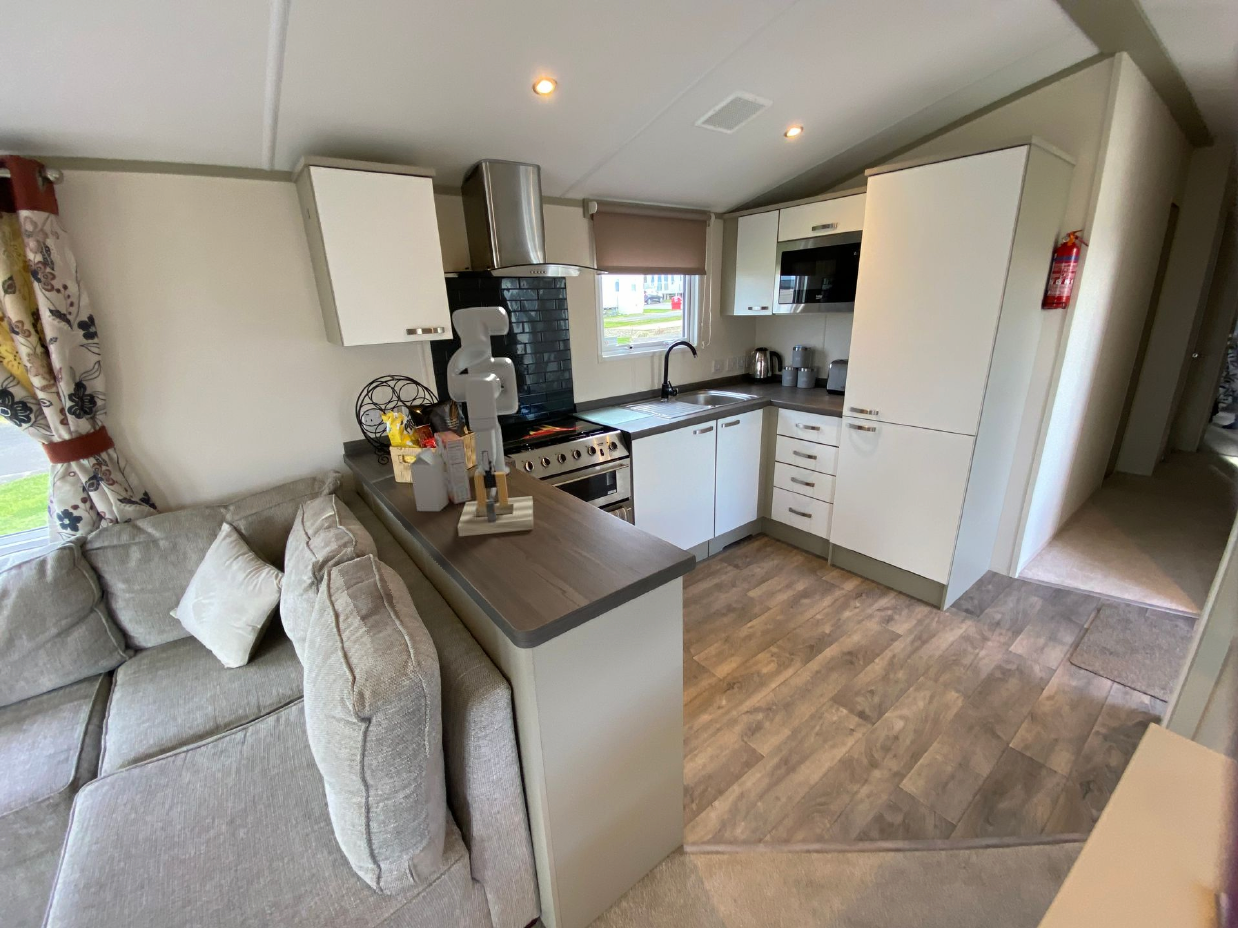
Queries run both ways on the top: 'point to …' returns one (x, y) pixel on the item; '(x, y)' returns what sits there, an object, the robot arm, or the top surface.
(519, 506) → the square frame with handle
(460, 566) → the top surface
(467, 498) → the cracker box
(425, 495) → the milk carton
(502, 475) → the tan wooden block
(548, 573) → the top surface
